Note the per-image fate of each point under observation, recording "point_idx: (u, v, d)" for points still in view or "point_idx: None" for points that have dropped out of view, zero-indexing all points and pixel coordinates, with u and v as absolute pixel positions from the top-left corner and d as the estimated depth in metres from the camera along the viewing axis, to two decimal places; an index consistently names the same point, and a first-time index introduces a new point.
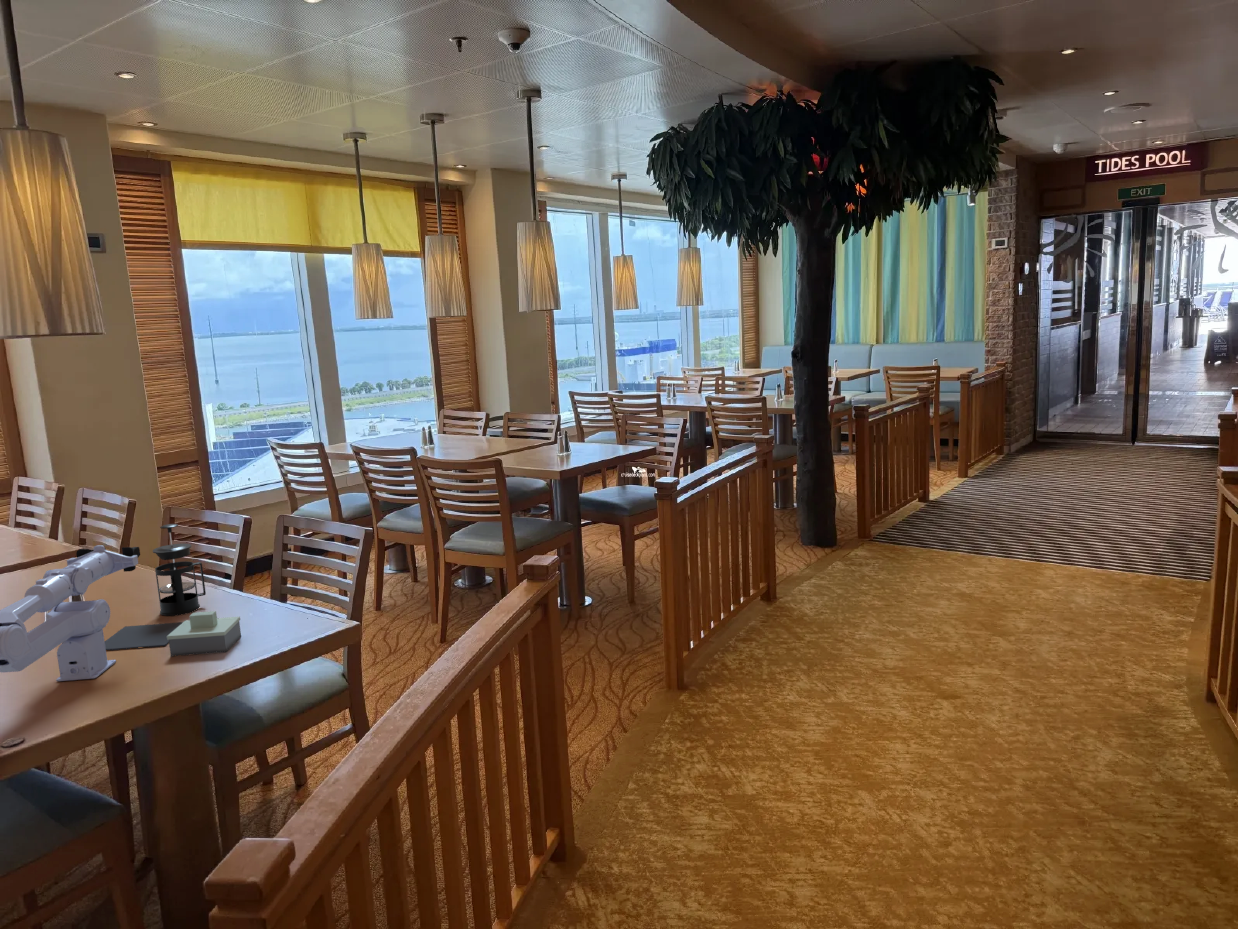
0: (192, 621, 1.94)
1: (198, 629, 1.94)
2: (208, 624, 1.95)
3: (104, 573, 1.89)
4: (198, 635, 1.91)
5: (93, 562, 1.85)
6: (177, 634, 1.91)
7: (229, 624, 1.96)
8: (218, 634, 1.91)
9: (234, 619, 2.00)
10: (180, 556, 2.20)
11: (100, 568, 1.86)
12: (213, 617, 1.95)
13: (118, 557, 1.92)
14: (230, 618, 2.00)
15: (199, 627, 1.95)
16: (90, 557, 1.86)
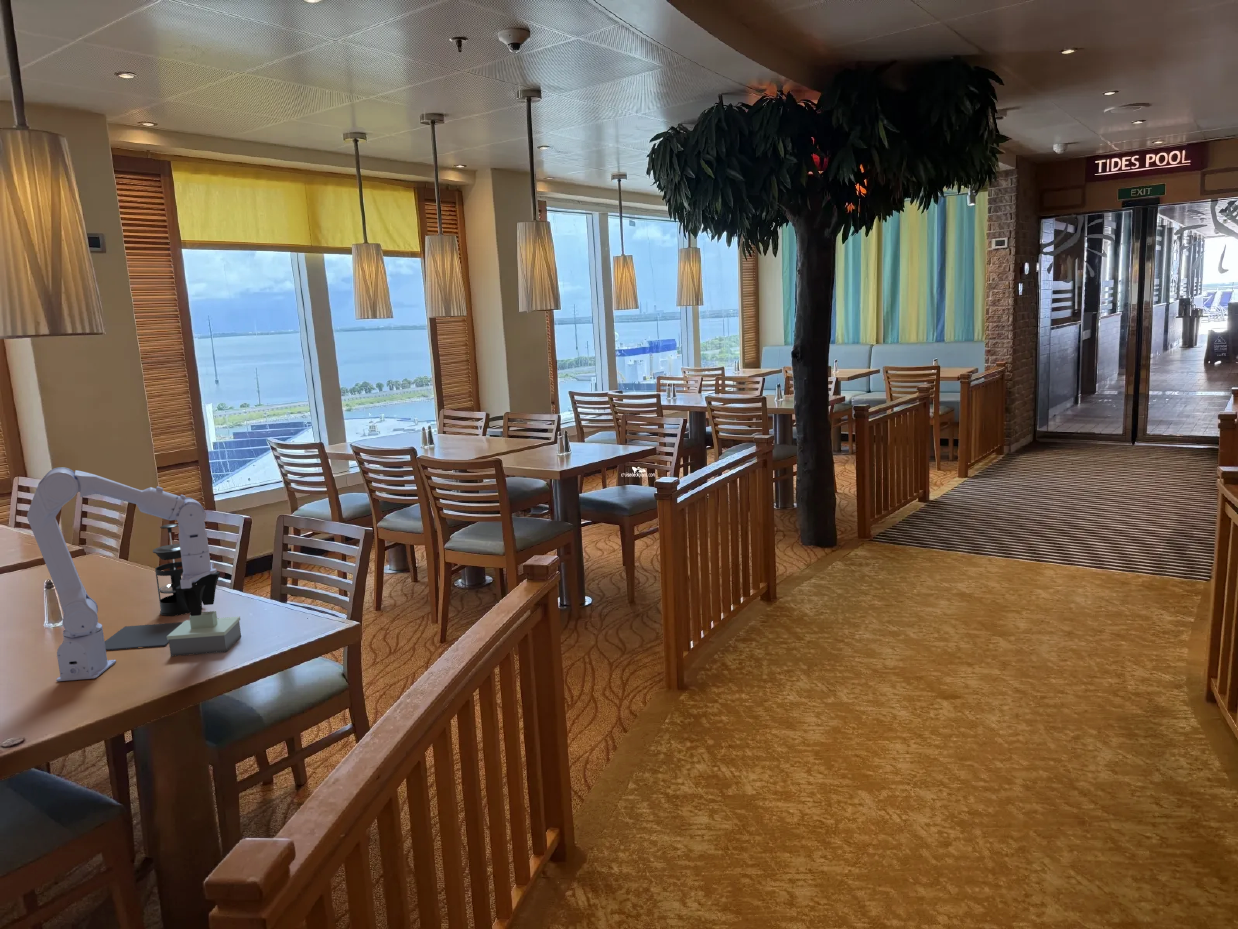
0: (192, 621, 1.94)
1: (198, 629, 1.94)
2: (208, 624, 1.95)
3: (184, 559, 1.91)
4: (198, 635, 1.91)
5: (204, 544, 1.92)
6: (177, 634, 1.91)
7: (229, 624, 1.96)
8: (218, 634, 1.91)
9: (234, 619, 2.00)
10: (180, 556, 2.20)
11: (197, 550, 1.91)
12: (213, 617, 1.95)
13: None
14: (230, 618, 2.00)
15: (199, 627, 1.95)
16: (208, 549, 1.94)
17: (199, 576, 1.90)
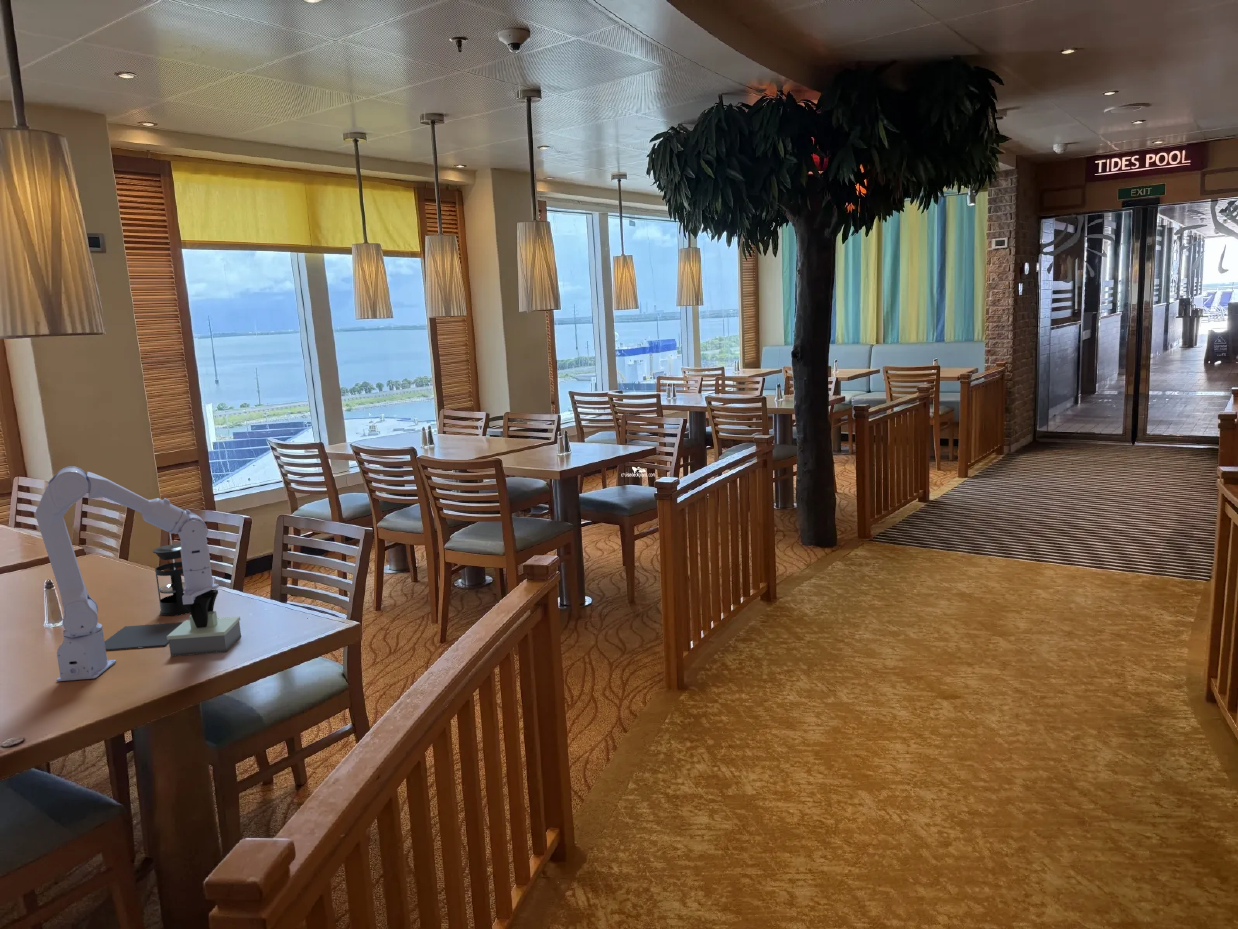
0: (192, 621, 1.94)
1: (198, 629, 1.94)
2: (208, 624, 1.95)
3: (186, 575, 1.91)
4: (198, 635, 1.91)
5: (206, 560, 1.93)
6: (177, 634, 1.91)
7: (229, 624, 1.96)
8: (218, 634, 1.91)
9: (234, 619, 2.00)
10: (180, 556, 2.20)
11: (199, 566, 1.91)
12: (213, 617, 1.95)
13: None
14: (230, 618, 2.00)
15: None
16: (210, 564, 1.94)
17: (201, 592, 1.91)
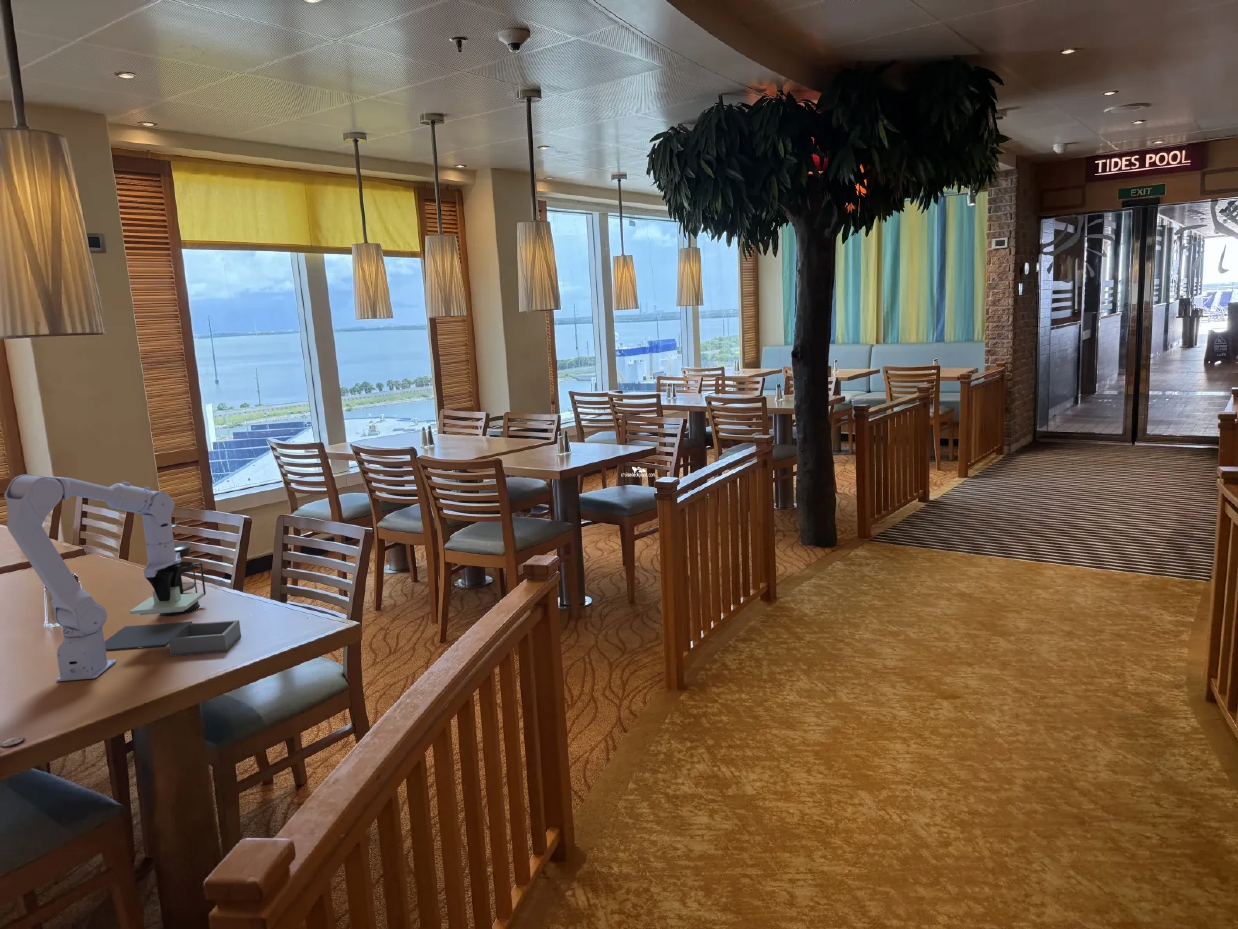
0: (155, 597, 1.98)
1: (161, 604, 1.97)
2: (171, 599, 1.98)
3: (149, 549, 1.95)
4: (160, 609, 1.94)
5: (172, 533, 1.98)
6: (140, 609, 1.95)
7: (192, 599, 2.00)
8: (180, 608, 1.95)
9: (198, 595, 2.03)
10: (180, 556, 2.20)
11: (167, 539, 1.96)
12: (175, 592, 1.98)
13: None
14: (194, 594, 2.04)
15: (162, 602, 1.98)
16: None
17: (163, 565, 1.94)
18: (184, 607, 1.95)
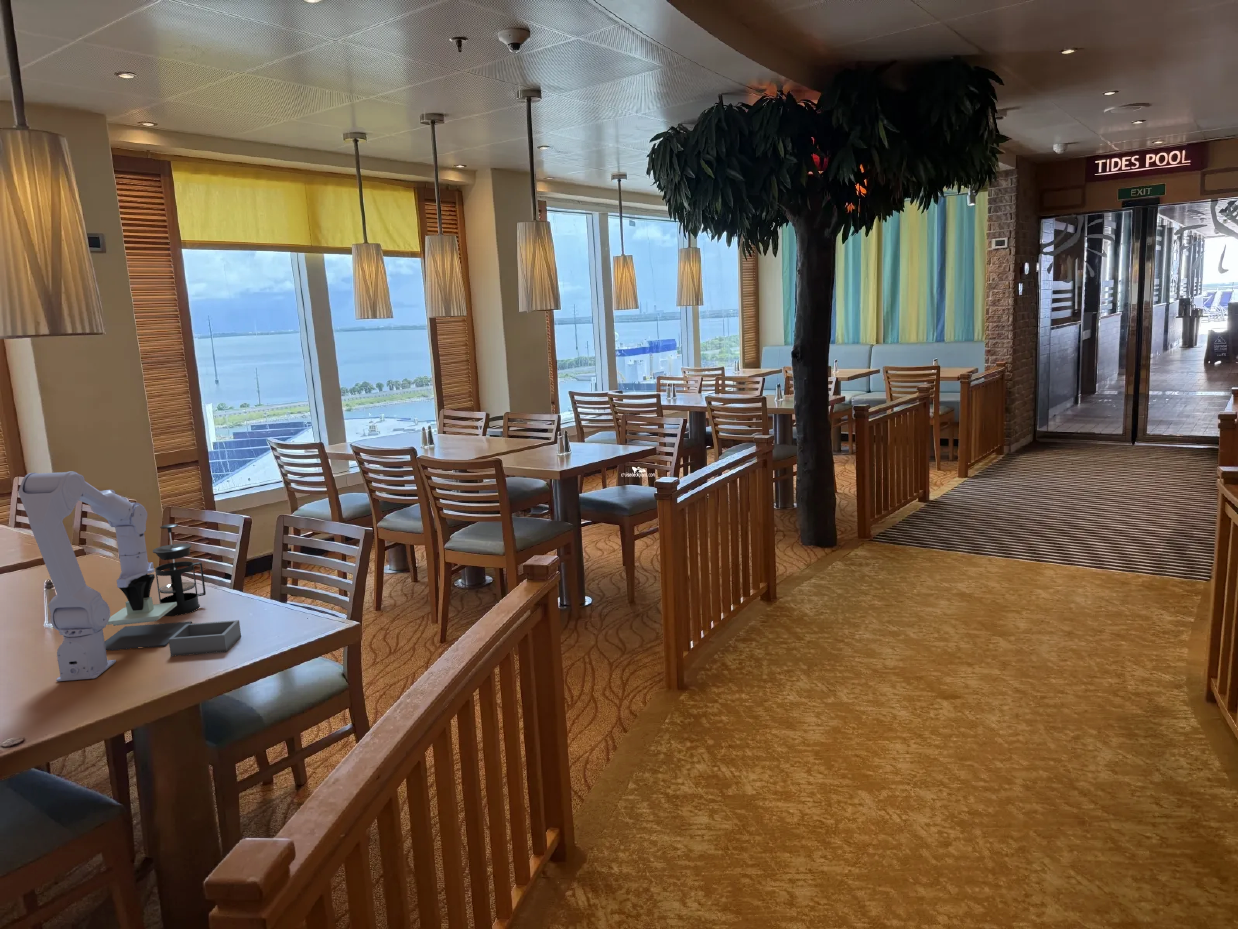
0: (128, 607, 2.02)
1: (134, 614, 2.02)
2: (144, 609, 2.03)
3: (122, 560, 1.99)
4: (133, 620, 1.99)
5: None
6: (113, 619, 1.99)
7: (164, 609, 2.04)
8: (152, 618, 1.99)
9: (170, 604, 2.08)
10: (180, 556, 2.20)
11: (144, 548, 2.02)
12: (148, 602, 2.03)
13: None
14: (167, 604, 2.08)
15: (135, 613, 2.03)
16: None
17: (136, 576, 1.99)
18: (156, 617, 1.99)
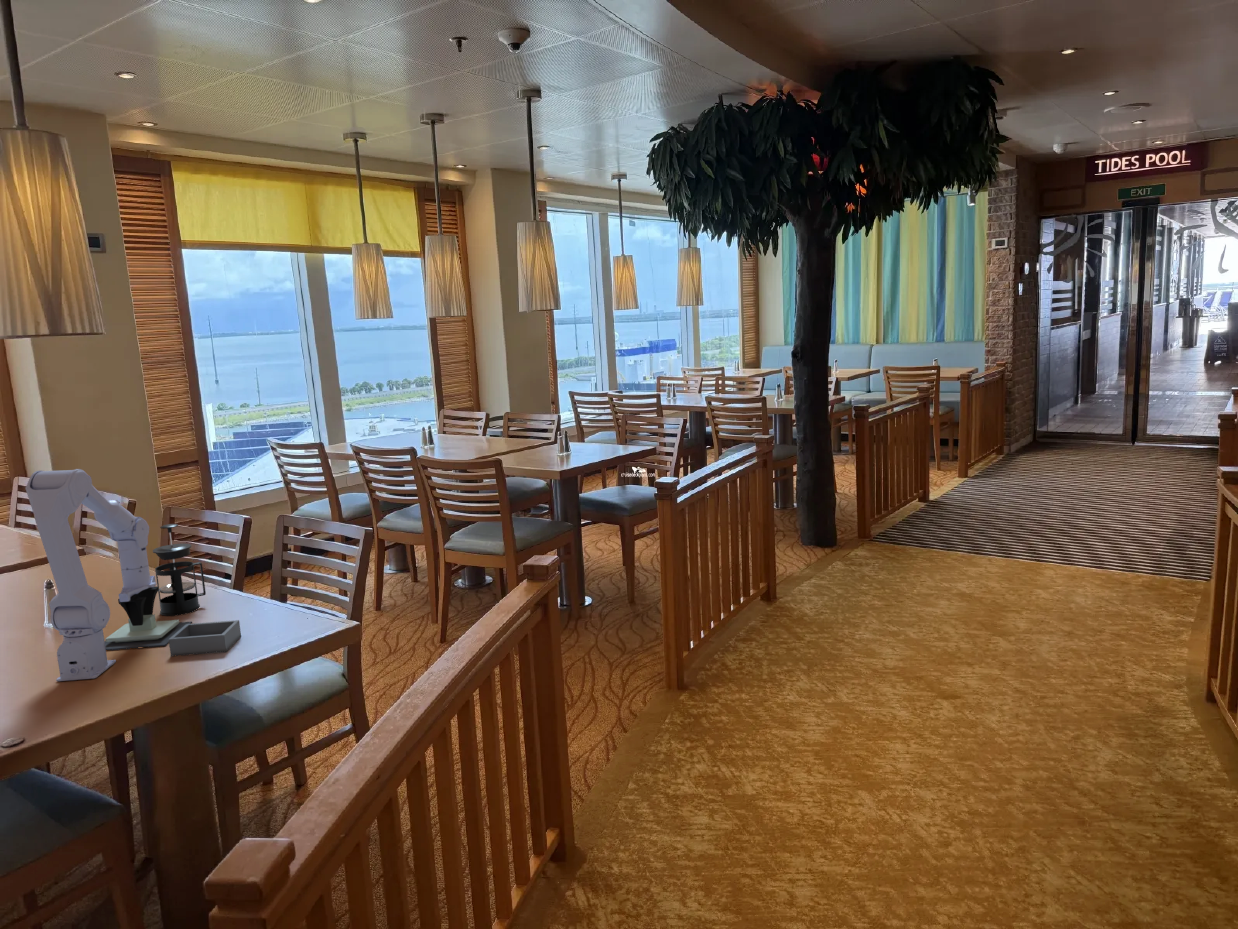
0: (131, 624, 2.03)
1: (136, 632, 2.02)
2: (146, 627, 2.03)
3: (124, 574, 2.00)
4: (135, 637, 2.00)
5: None
6: (116, 636, 2.00)
7: (167, 627, 2.05)
8: (155, 637, 2.00)
9: (173, 622, 2.08)
10: (180, 556, 2.20)
11: (146, 562, 2.02)
12: (151, 620, 2.04)
13: None
14: (169, 622, 2.09)
15: (138, 630, 2.03)
16: None
17: (138, 590, 1.99)
18: (159, 635, 2.00)
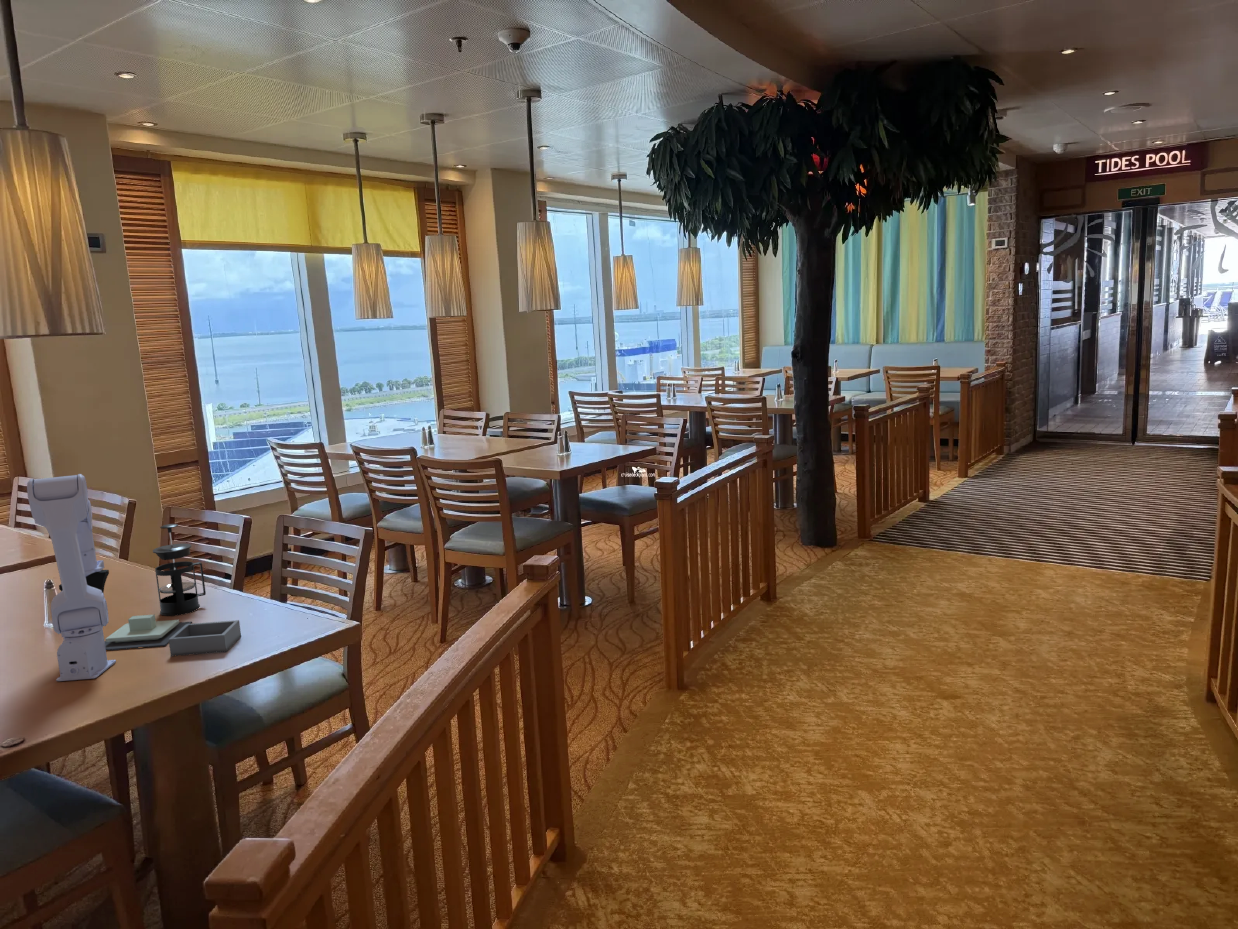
0: (131, 624, 2.03)
1: (136, 632, 2.02)
2: (146, 627, 2.03)
3: None
4: (135, 637, 2.00)
5: None
6: (116, 636, 2.00)
7: (167, 627, 2.05)
8: (155, 637, 2.00)
9: (173, 622, 2.08)
10: (180, 556, 2.20)
11: None
12: (151, 620, 2.04)
13: None
14: (169, 622, 2.09)
15: (138, 630, 2.03)
16: None
17: None
18: (159, 635, 2.00)
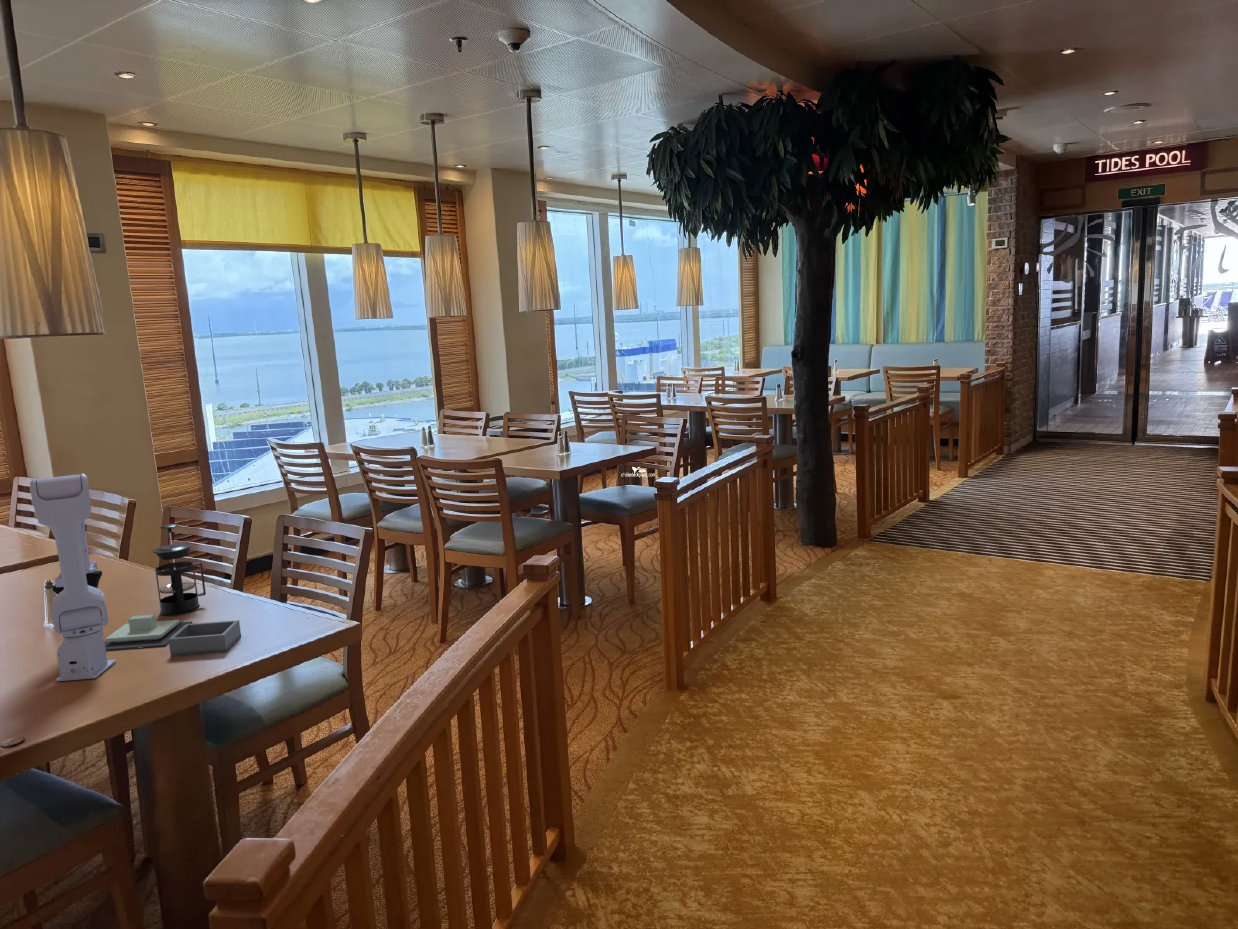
0: (131, 624, 2.03)
1: (136, 632, 2.02)
2: (146, 627, 2.03)
3: None
4: (135, 637, 2.00)
5: None
6: (116, 636, 2.00)
7: (167, 627, 2.05)
8: (155, 637, 2.00)
9: (173, 622, 2.08)
10: (180, 556, 2.20)
11: None
12: (151, 620, 2.04)
13: None
14: (169, 622, 2.09)
15: (138, 630, 2.03)
16: None
17: None
18: (159, 635, 2.00)
